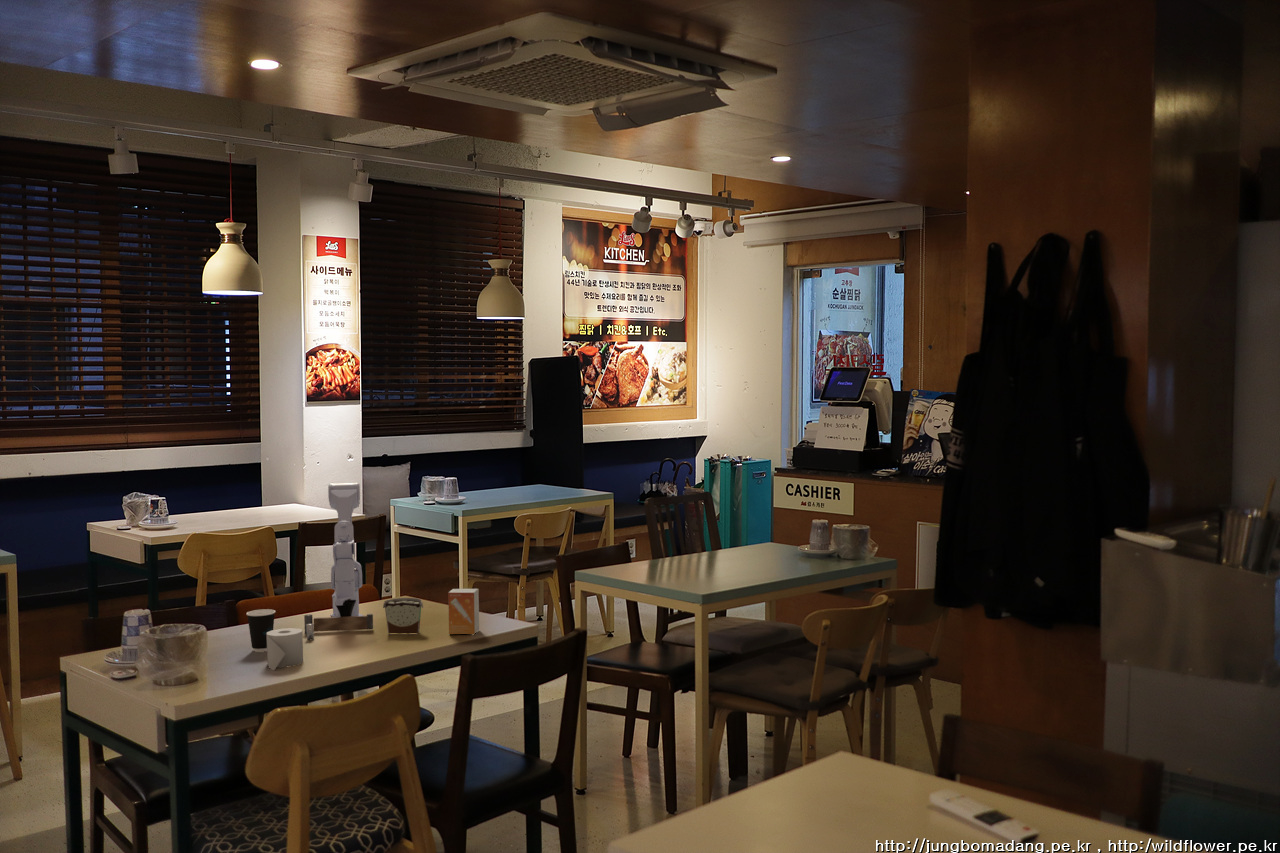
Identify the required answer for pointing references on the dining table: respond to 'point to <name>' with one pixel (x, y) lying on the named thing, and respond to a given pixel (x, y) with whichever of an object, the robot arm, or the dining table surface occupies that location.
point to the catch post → (310, 631)
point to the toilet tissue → (284, 647)
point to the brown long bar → (343, 623)
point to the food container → (403, 615)
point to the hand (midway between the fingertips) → (346, 624)
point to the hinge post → (308, 621)
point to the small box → (463, 611)
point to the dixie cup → (260, 627)
